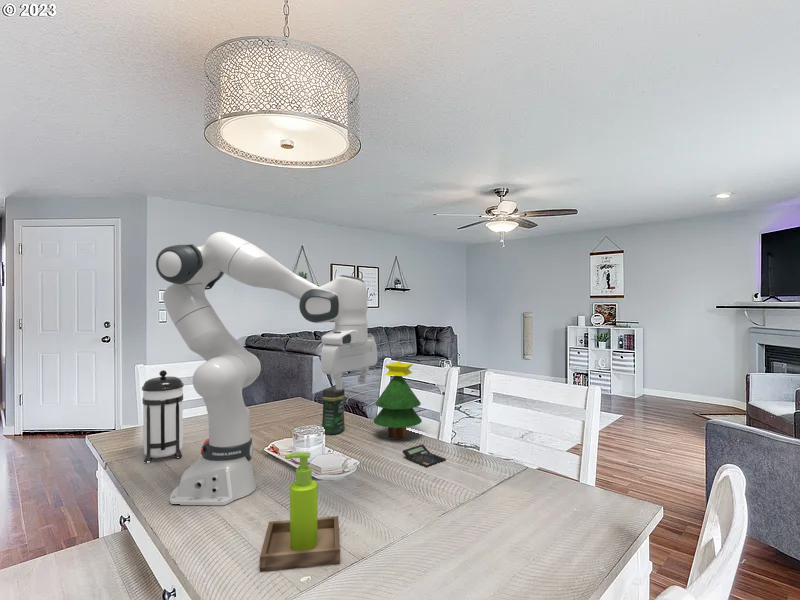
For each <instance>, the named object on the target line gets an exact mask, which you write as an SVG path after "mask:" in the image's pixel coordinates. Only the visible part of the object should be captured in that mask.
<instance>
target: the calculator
mask: <svg viewBox="0 0 800 600" xmlns="http://www.w3.org/2000/svg"><path fill="white" fill-rule="evenodd" d="M402 454H403V455H404V456H405V457H406V458H407V460H408V461H409V462H412V463H414V464H417V465H418V464H419V465H418V466H421V467H423V466H424V468H429V466H430V467H432V465H433V466H435V465H438V464H440V462H441V463H444V462H446V461H447V458H444V457H443V456H439V455H437V454H433V453H431V452H430V450H429V449H428V448H427V447H426V446H425V445H424V443H422V444H419V445H415V446H413V447H409V448H407V449H403V450H402ZM437 463H438V464H437Z"/></svg>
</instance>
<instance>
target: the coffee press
mask: <svg viewBox="0 0 800 600" xmlns="http://www.w3.org/2000/svg"><path fill="white" fill-rule="evenodd" d="M158 375H159V376H158V377H152V378H150V379H148V380H146V381H145V382H144V383H143V385H142V386H141V391H142V399H141V400H142V402H141V403H142V409H143V410H142V411H143V413H142V414H143V417H142V418H143V421H142V422H143V427H142V428H143V454H144V455H145V458H144V460H143V463H144V462H146V463H147V461H151V462H152V460H153V459H154V458H163V457H164V458H165V457H170V456H174V457H175V459H176V458H177V457H179V458H180V459H181V457H182V458H183V454H182V452H181V451H182V449H183V446H184V435H183V434H184V431H183V430H184V426H183V425H184V423H183V422H184V421H183V420H184V417H183V416H184V415H183V414H184V413H183V411H184V410H183V409H184V408H183V407H184V406H183V405H184V404H183V401H184V393H183V388H184V386H185V384H184V382H183V381H182V379H181V378H179V377H178V376H167V375H168V373H167V371H166V370H163V369H162V370H160V371H159V373H158ZM146 463H145V464H146Z"/></svg>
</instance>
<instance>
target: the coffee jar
mask: <svg viewBox="0 0 800 600" xmlns="http://www.w3.org/2000/svg"><path fill="white" fill-rule="evenodd" d="M321 397H322V419H321V420H322V421H321V427H322V426H323V427H324V429H325V433H326V434H325V433H324V434H325V435H329V436H330V435H338V434H340V433H342V432H343V431H344V430H345V425H346V424H345V408H344V407H345V405H344V404H345V403H344V402H345V388H344V389H341V390H337V389H336V385H333V386H330V387H327V388H324V389H322V394H321Z"/></svg>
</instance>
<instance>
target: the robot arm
mask: <svg viewBox="0 0 800 600" xmlns="http://www.w3.org/2000/svg"><path fill="white" fill-rule="evenodd" d="M155 267H156V272H157V273H158V275H159V276H160V278H162V279H163V280H164V281H166V282H168V283H171V284H170V285H169V286H168V287H167V288H166V289H165V290H164V291H163V295H162V300H163V303H164V305H165V309H166V311H167V313H168V315H169V318H170V320H171V321H172V323H173V325H174V326H175V328H176V329H177V331H178V333H179V334H180V336H181V338H182V340H183V341H184V342H185V344H186V346H187V348H188V350H190V351H192V352H193V353H195V354H197V355H199V357H202V358H203V360H204V361H205V362H203V363H202V364H201V365H199V366H198V367H197V368H196V369H195V371H194V373H193V375H192V386H193V388H194V390H195V392H196V394H198V395H199V396H200V397H201V398H202V400H203V402H204V405H205V408H206V412H207V419H208V438H207V439H205V440H204V442H203V445H202V446H201V448H200V454H201V456H200V457H199V458H198V459H196V460H195V461H194V462H192V464H190V465H189V466H188V467H187V468H186V469H185V470H184V472H183V473H182V475H181V476H180V480H179V485H177V486H176V487H175V488H174V489H173V490H172V491H171V493H170V495H169V500H168V502H169V501H170V502H169V503H171V504H170V505H172V504H180V505H179V506H226V505H229V504H230V503H232V502H233V501H235V500H239V499H242V498H244V497H247V496H248V495H251V494H252V493H253V492H254V491H256V489H257V482H256V479H255V475H254V471H253V465H252V464H253V462H252V458H253V438H252V437H251V412H250V409H249V408H247V406H246V405H245V400H244V397H243V389H245V388H247V387H249V386H250V385H252V384H253V383H254V382H255V381H256V379H258V377H259V376H260V373H261V370H262V366H261V361H260V360H259V358H258V357H257V356H256V355H255V354H254V353H252V352H251V351H248V350H247V349H246V348H245V347H244V346H243V345H242V344H241V343H240V342H239V341H238V340H237V339H236V338H235V337H234V336H233V335H232V334H231V333H230V332H229V330H228V329H227V328H226V327H225V324H224V323H223V321H222V320H221V319H220V317H219V316H218V314H217V313H216V311H215V309H214V308H213V306H212V304H211V303H210V301H209V300H208V298H207V296H206V294H205V293H206V292H205V290H211V289H212V288H213V287H214V286H215V284H216V283H217V282H218V281H219V280H220V279H221V278H223V276H224V275H227V276H228V277H230V278H232V279H234V280H235V281H237V282H239V283H242V284H244V285H247V286H250V287H252V288H253V287H254V288H262V289H270V290H276V291H280V292H283V293H284V294H285V293H286V294H287V295H289V296H291V297H293V298H295V299H296V300H299V302H298V303H299V305H298V306H299V307H298V308H299V311H300V313H301V316H302V317H303V318H304V319H305V320H306V321H308V322H311V323H314V324H324V323H334V328H333V329H331V330H330V331H328V332H326V333H325V334H323V335H322V336H321V344H322V345H323V346H322V347H321V352H320V353H321V354H320V367H321V371H322V373H323V374H325V375H331V376H332V379H333V381H334V383H335V386H336V389H337V390H341V389H344V390H345V382H343V380H342V378H341V377H343V373H346V372H350V371H351V372H352V371H355V370H360V373H359V376H357V383H358V384H362V385H363V384H366V383H367V376H368V373H369V371H370V368H369V367H373V366H376V365H377V363H378V348H377V343H376V339H375V336H374V335H373V334H372V333H371V332H369V333H368V320H367V312H368V290H367V285H366V283H365V281H364V280H363V279H361V278H360V277H356V276H351V275H346V274H345V275H344V274H341V275H338V276H337V277H336V278H334V279H333V280H331V281H329V282H327V283H324V284H323V285H317V284H316V283H314V282H312V281H310V280H309V279H306V278H305V277H303V276H300V275H299V274H297V273H295V272H294V271H291V270H290V269H288V268H287V267H286V266H285V265H283V263H280V262H279V261H277V260H276V259H275V258H273V257H272V256H271V255H270V254H268V253H267V252H266V251H264V250H263V249H262V248H259V247H258V246H256V245H255V244H253V243H251V242H250V241H248V240H245V239H244V238H241V237H239V236H237V235H234V234H232V233H229V232H225V231H218V232H214V233H212V234H211V235H209V237H208V238H207V239H206V241H205V242H204V244H203V245H201V246H199V245H195V244H192V243H191V244H190V243H189V244H175V245H170V246H167V247H165V248H163V249H162V250H160V251H159V253H158V255H157V257H156V259H155Z"/></svg>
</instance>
